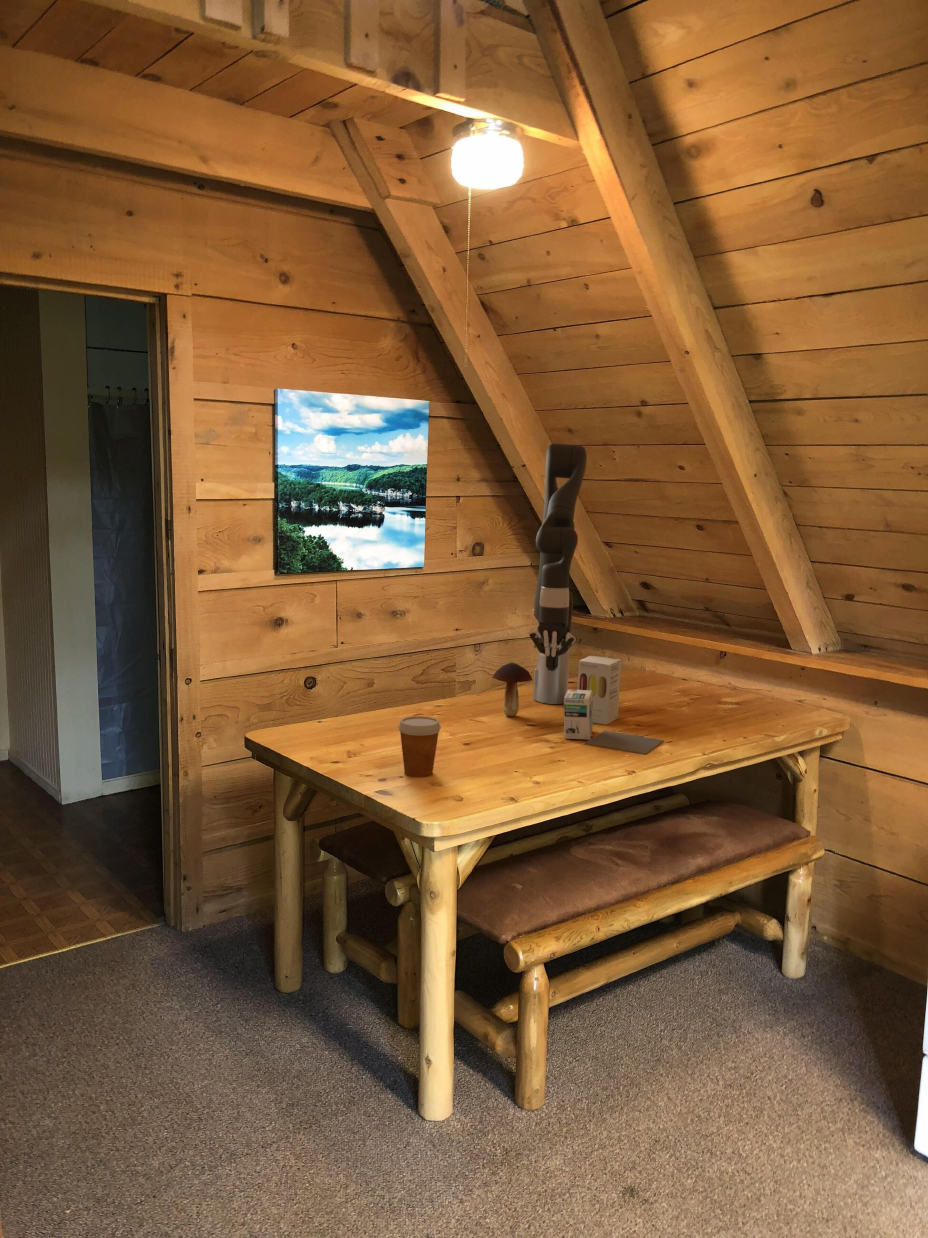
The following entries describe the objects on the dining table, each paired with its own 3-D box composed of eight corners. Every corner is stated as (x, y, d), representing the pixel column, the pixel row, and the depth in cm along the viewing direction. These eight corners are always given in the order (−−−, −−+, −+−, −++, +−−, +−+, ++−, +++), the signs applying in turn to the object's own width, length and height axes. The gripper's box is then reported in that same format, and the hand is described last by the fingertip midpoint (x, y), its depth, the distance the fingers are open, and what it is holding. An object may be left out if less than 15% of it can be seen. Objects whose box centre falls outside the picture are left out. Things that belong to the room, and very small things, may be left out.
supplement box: (574, 720, 272) (577, 660, 270) (586, 713, 280) (589, 654, 278) (607, 725, 268) (610, 664, 265) (618, 718, 276) (622, 658, 273)
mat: (584, 744, 250) (584, 742, 249) (604, 731, 262) (604, 730, 262) (645, 754, 242) (645, 753, 242) (663, 741, 254) (663, 740, 254)
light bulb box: (590, 740, 252) (590, 698, 250) (563, 739, 253) (563, 697, 252) (593, 729, 262) (593, 689, 261) (567, 728, 264) (567, 688, 262)
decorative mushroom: (486, 712, 278) (488, 659, 276) (523, 710, 281) (525, 658, 279) (497, 722, 268) (499, 667, 266) (536, 720, 271) (538, 666, 269)
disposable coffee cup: (439, 766, 228) (440, 715, 226) (439, 780, 218) (441, 727, 217) (397, 766, 227) (398, 715, 226) (396, 779, 218) (397, 726, 216)
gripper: (583, 605, 257) (580, 671, 259) (537, 600, 263) (534, 665, 266) (572, 608, 250) (569, 675, 253) (524, 603, 256) (522, 669, 259)
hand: (551, 670), depth 259 cm, fingers closed
